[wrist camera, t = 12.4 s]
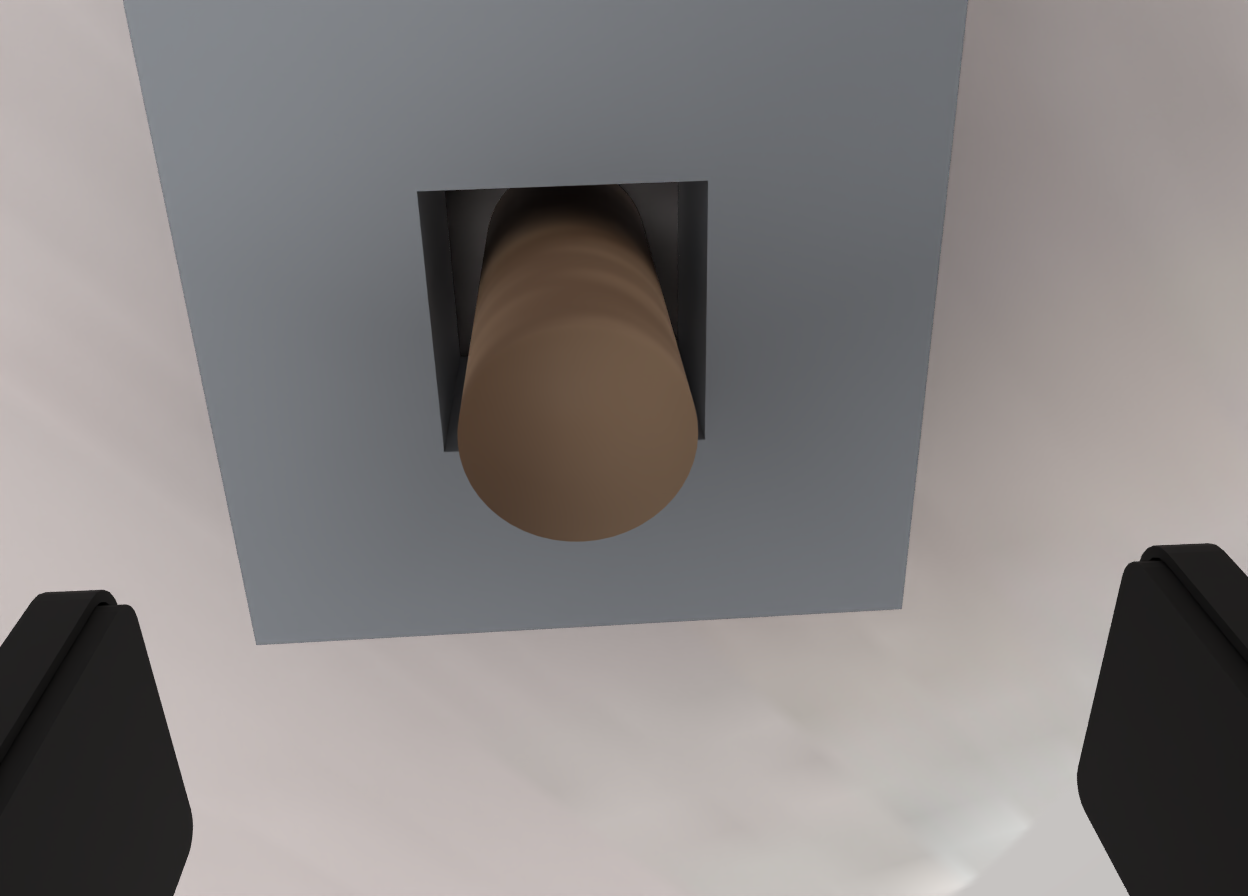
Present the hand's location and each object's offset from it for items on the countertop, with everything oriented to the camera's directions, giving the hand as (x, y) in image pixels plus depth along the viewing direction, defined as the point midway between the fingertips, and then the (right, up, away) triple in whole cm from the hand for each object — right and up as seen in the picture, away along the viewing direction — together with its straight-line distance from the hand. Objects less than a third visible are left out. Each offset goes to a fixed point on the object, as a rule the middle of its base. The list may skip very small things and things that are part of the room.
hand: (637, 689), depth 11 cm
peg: (-1, +7, +15) cm, 17 cm away
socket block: (-2, +7, +15) cm, 17 cm away
